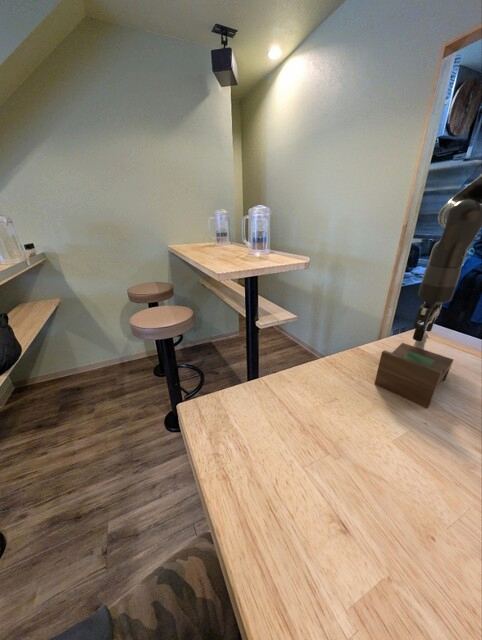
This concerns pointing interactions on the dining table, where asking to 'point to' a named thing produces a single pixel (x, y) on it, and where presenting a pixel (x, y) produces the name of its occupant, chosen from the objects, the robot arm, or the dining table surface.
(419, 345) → the rook chess piece
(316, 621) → the dining table surface
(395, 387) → the wooden stand
